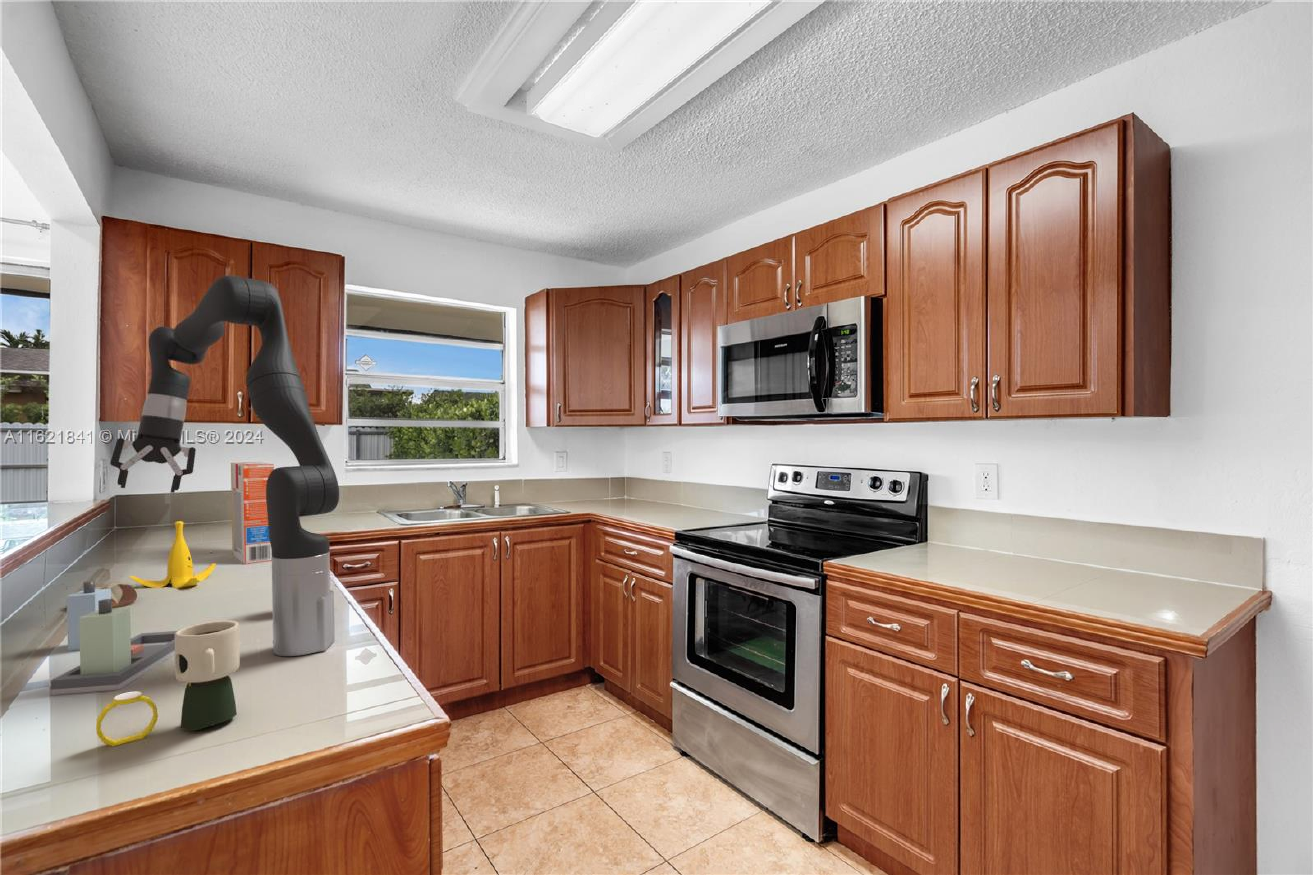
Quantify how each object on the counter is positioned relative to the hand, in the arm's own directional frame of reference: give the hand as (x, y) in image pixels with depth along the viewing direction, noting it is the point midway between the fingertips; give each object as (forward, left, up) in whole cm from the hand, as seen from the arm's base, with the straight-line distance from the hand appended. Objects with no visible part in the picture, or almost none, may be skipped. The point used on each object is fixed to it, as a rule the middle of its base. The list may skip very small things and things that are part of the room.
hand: (148, 490), depth 138 cm
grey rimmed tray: (-14, +33, -27) cm, 45 cm away
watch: (-30, +64, -28) cm, 76 cm away
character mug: (-38, +61, -27) cm, 77 cm away
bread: (+16, -12, -28) cm, 34 cm away
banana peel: (+12, -31, -28) cm, 43 cm away
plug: (0, +20, -27) cm, 34 cm away
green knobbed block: (-14, +40, -26) cm, 50 cm away
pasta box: (+6, -67, -28) cm, 73 cm away
